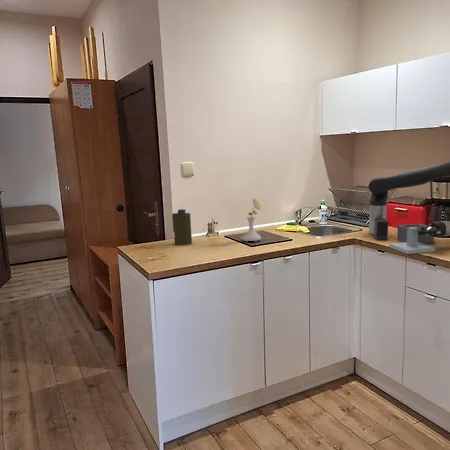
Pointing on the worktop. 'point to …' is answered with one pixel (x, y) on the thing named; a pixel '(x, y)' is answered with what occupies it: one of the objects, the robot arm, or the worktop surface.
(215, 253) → the worktop surface
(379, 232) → the small box
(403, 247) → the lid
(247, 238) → the flower in vase
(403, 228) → the crate
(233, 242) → the worktop surface
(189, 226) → the canister
